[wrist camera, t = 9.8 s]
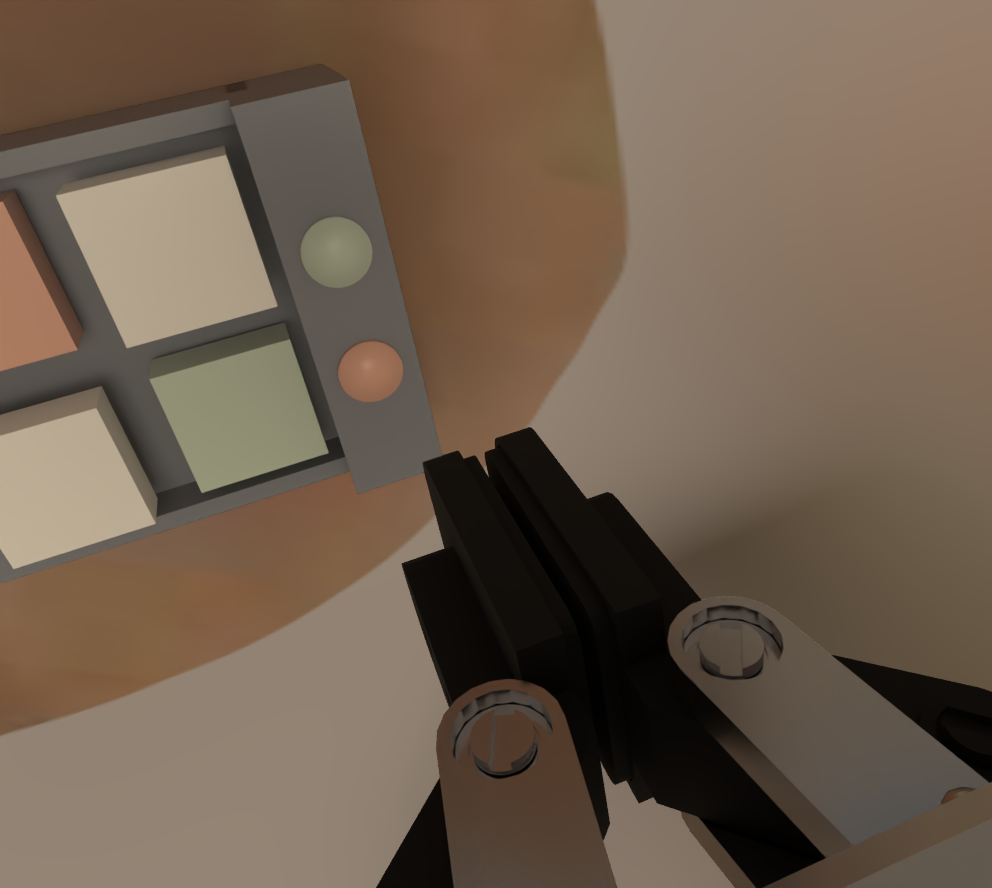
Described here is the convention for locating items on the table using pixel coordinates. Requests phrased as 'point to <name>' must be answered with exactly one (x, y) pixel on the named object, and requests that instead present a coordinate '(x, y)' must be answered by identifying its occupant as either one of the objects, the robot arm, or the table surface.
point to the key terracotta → (30, 294)
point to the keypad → (291, 268)
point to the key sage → (239, 406)
